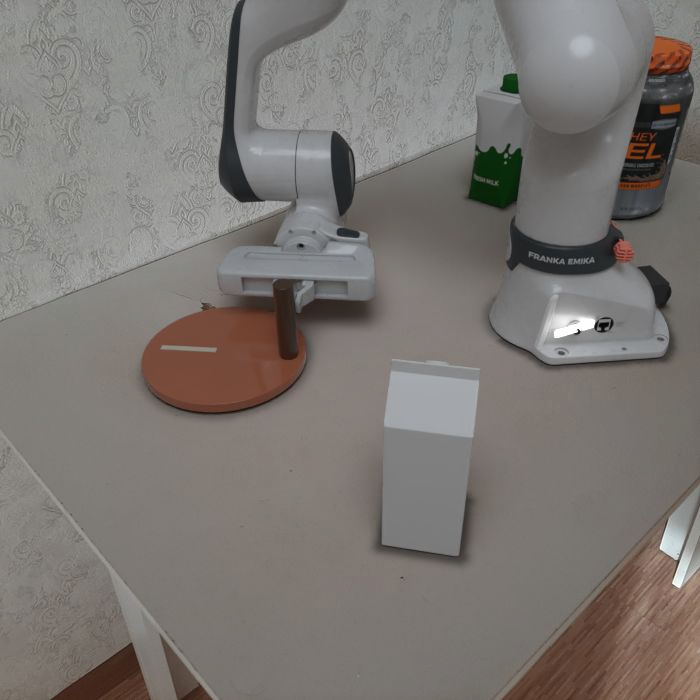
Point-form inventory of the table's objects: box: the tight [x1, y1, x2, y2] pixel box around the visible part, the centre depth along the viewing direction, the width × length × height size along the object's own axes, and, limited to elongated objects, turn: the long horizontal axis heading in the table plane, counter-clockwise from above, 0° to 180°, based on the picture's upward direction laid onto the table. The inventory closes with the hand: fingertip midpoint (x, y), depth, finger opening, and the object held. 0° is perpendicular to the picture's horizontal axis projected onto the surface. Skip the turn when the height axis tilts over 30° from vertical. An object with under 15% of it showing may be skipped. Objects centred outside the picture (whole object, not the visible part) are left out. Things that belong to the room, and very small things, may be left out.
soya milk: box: [468, 72, 534, 209], centre depth 120 cm, size 9×9×20 cm
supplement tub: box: [611, 35, 695, 220], centre depth 116 cm, size 16×16×26 cm
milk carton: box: [381, 358, 482, 557], centre depth 62 cm, size 7×7×19 cm
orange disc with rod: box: [140, 279, 307, 413], centre depth 85 cm, size 20×20×11 cm
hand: (287, 307), depth 86 cm, fingers closed
